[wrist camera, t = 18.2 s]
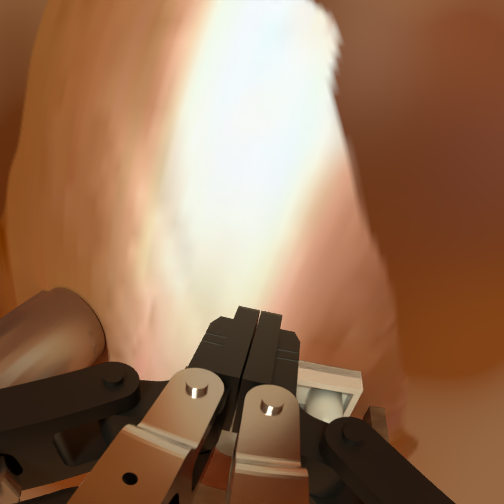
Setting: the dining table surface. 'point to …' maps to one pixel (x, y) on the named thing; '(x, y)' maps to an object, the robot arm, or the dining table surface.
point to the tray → (330, 383)
